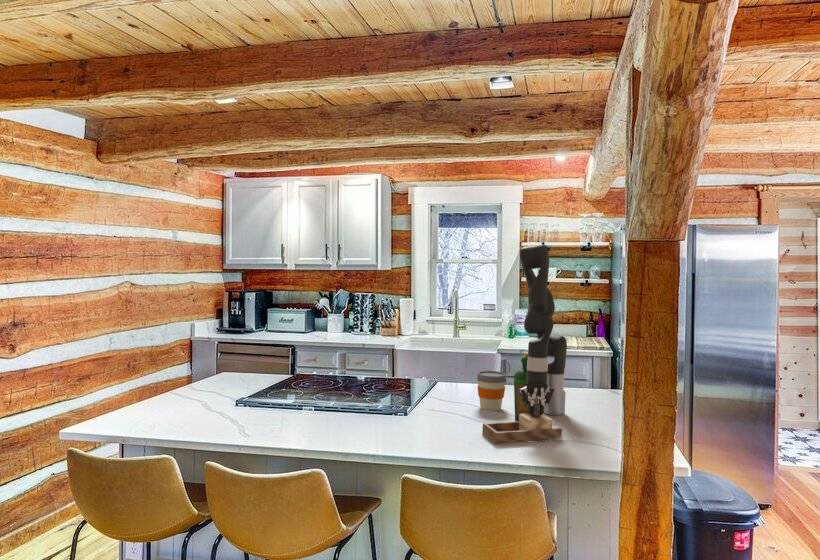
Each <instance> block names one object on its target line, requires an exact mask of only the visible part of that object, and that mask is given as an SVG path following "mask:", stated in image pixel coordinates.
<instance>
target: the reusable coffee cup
mask: <svg viewBox="0 0 820 560" xmlns="http://www.w3.org/2000/svg"><path fill="white" fill-rule="evenodd" d="M506 375H507V374H506V373H505V372H501V371H496V370H495V371H493V370H483V371H482V370H481V371H478V372H477V378H476V379H477V385H476V386H477V387H476V388H477V396H478V397H479V406H480V409H482V410H485V411H494V412H495V411H500V410H501V409H502V404H503V398H505V392H506V385H505V384H506V382H507V378H506V377H507V376H506Z"/></svg>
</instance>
